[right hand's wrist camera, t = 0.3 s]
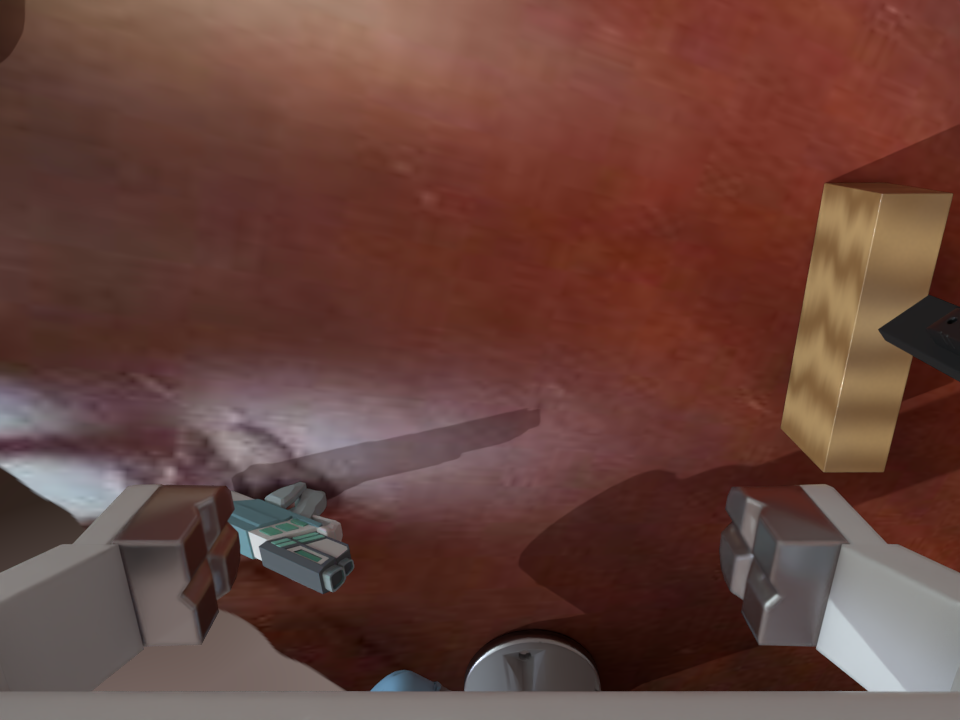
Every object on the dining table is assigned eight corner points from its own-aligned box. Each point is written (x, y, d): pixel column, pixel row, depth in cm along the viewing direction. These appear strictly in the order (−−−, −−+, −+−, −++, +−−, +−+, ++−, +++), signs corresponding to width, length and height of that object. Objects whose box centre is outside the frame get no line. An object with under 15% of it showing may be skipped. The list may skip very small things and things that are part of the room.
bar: (824, 182, 53) (882, 193, 46) (885, 182, 53) (953, 193, 46) (780, 428, 61) (823, 472, 54) (833, 428, 61) (884, 472, 54)
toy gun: (406, 541, 58) (325, 610, 51) (270, 490, 69) (186, 542, 61) (401, 506, 57) (317, 573, 49) (263, 460, 67) (176, 509, 60)
